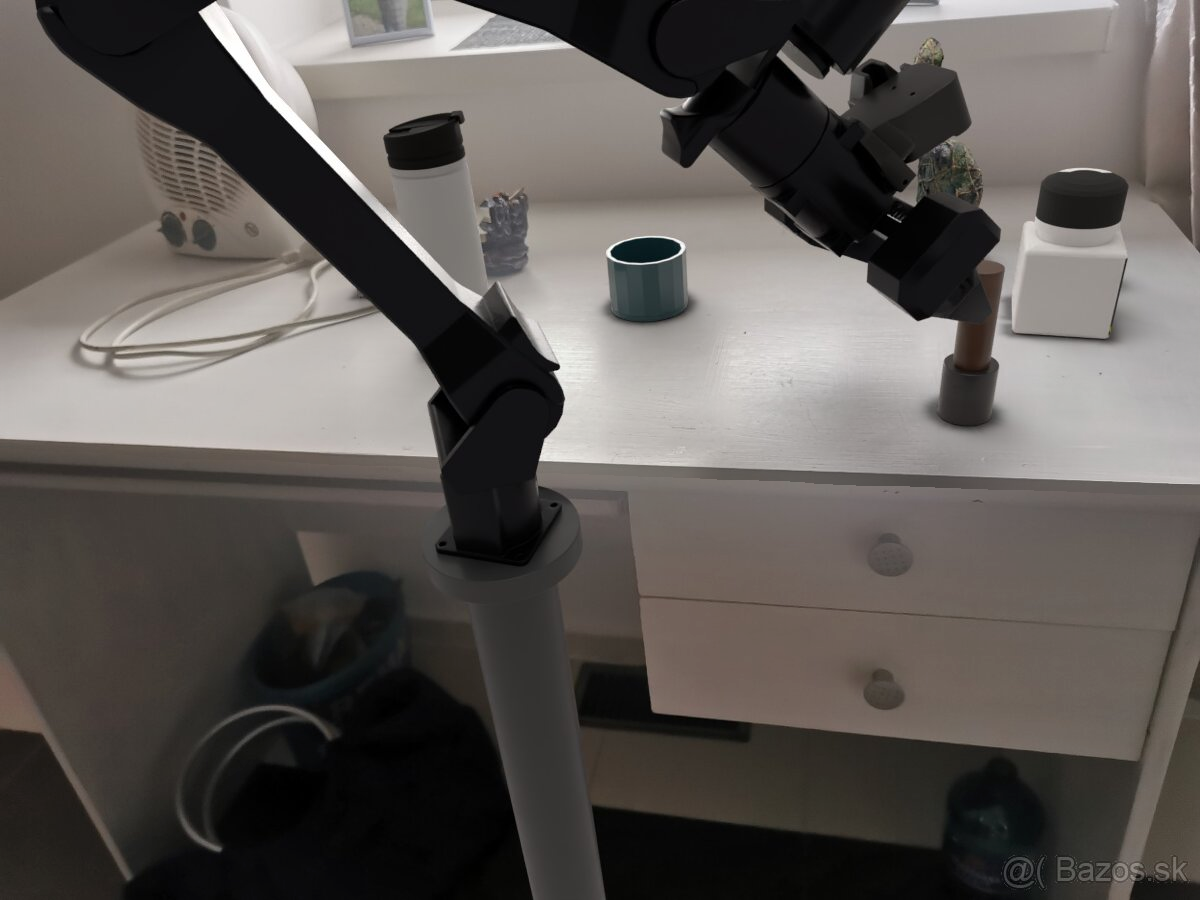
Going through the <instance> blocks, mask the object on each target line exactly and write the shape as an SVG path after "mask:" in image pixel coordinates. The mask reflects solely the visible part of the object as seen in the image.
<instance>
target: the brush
mask: <svg viewBox="0 0 1200 900" xmlns="http://www.w3.org/2000/svg"><path fill="white" fill-rule="evenodd" d="M977 270H978V274H979V276H980V279H981V282H982V284H983V287H984V289H985V292H986V294H987V297H988V299H989V302H990V304H991V307H992V310H993V312H992V314H991V315H990V316H989V317H988V318H987V319H986V320H985V321H984V322H983V323H982V324H980V325H978V324H972V323H967V322H961V321H957V325H956V333H955V341H954V347H953V348H954V349H953V353H951V354H949V355H947V356H945V357H944V359H943V360H942V361H943V362H942V370H941V377H940V384H939V394H938V401H937V410H936V412H937V414H938V416H939V417H940V418H941V419H942V420H943V421H946V422H947V423H950V424H952V425H957V426H963V427H972V426H973V427H974V426H979V425H983V424H986V423H987V422H988V421H989V420H990V419H991V417H992V414H993V408H994V402H995V401H994V400H995V395H996V388H997V383H998V377H999V371H1000V363H999V361H998V360H997V359H996V358H995V357H993V356H992V354H993V347H994V342H995V335H996V329H997V321H998V317H999V316H998V315H999V311H1000V310H999V309H1000V303H1001V298H1002V290H1003V285H1004V277H1005V271H1006V267H1005V266H1004V264H1002V263H1001V262H997V261H994V260H985V259H984V260H982V261H981V262H980V264H979V265H978V266H977Z"/></svg>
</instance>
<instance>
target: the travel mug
mask: <svg viewBox="0 0 1200 900" xmlns="http://www.w3.org/2000/svg"><path fill="white" fill-rule="evenodd" d="M465 122H466V118H465V114H464V111H463V110H462V109H461V110H453V111H451V112H440V113H434V114H430V115H425V116H420V117H417V118H414V119H409V120H407V121H405V122H402V123H399V124H397V125H394V126H393V127H391V128H389V129H388V132H387V133H386V134H383V137H382V139H383V144H384V149H385V152H386V155H387V158H386V159H387V163H388V164H387V166H388V171H389V172H390V176H389V177H390V180H391V185H392V190H393V194H394V199H395V204H396V209H397V212H398V218H399V223H400V224H401V225H402V226H403V227H404V228H405V229H406V230H407V231H408V232H409V234H410V235H411V236H412V237H413V238H414V239H415V240H416V241H417V242H418V243H419V244H420V245H421V246H422V247H423V248H424V249H425V250H426V251H427V252H428V254H429V255H430V256H431V257H432V258H433V259H434V260H435V261H436V262H437V263H438V264H439V265H440V266H441V267H442V268H443V269H444V270H445V271H446V272H447V273H448V275H449V276H450V277H451V278H452V279H453V280H455V281H456V282H457V283H459V284H460V285H462V286H463V287H465V288H467V289H469V290H471V291H473V292H475V293H477V294H478V295H480V296H482V297H483V296H484V295H485V294H486V293H487V291H488V290H489V289H490V288H489V283H488V275H487V270H486V263H485V257H484V251H483V246H482V240H481V235H480V229H479V223H478V217H477V216H478V215H477V210H476V206H475V198H474V192H473V187H472V180H471V175H470V174H471V173H470V169H469V164H468V163H467V160H468V156H467V153H466V150H465V146H464V144H463V143H464V137H463V133H462V129H461V125H462V124H464V123H465Z"/></svg>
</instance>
